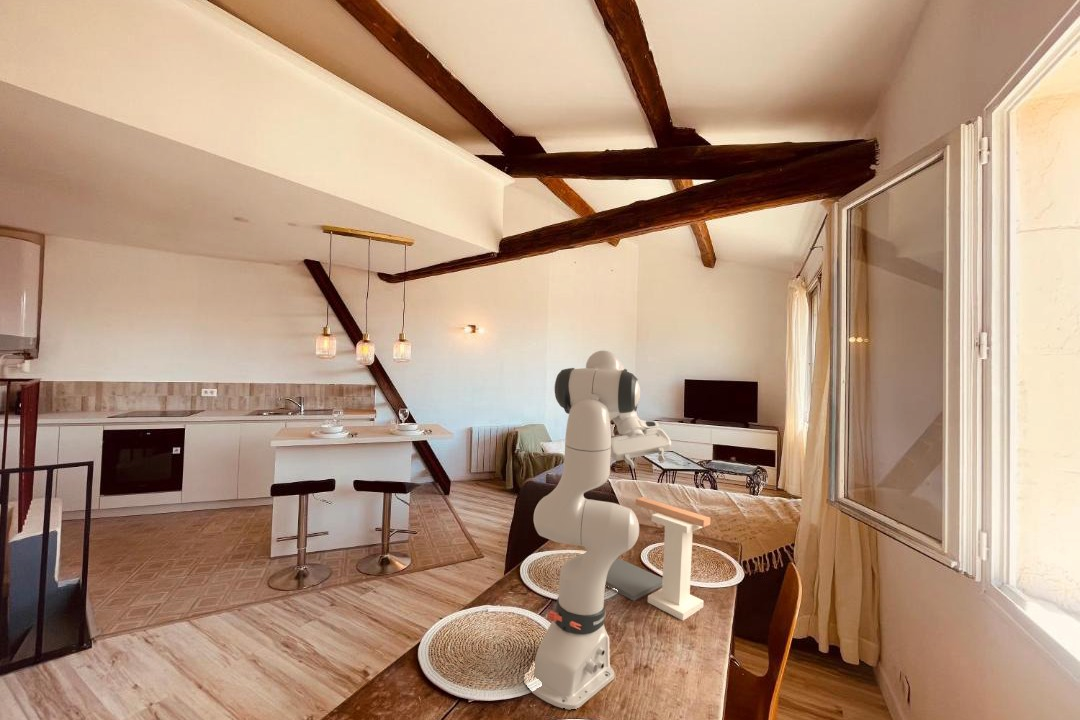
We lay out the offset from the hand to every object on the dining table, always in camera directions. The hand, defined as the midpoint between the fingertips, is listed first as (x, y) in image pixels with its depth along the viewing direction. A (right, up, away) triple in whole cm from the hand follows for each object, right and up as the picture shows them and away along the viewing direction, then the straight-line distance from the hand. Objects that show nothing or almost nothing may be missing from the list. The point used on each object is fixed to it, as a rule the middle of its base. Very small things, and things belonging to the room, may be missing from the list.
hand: (648, 464), depth 135 cm
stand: (+7, -43, -4) cm, 43 cm away
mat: (-7, -42, +13) cm, 45 cm away
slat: (+7, -16, -1) cm, 17 cm away
